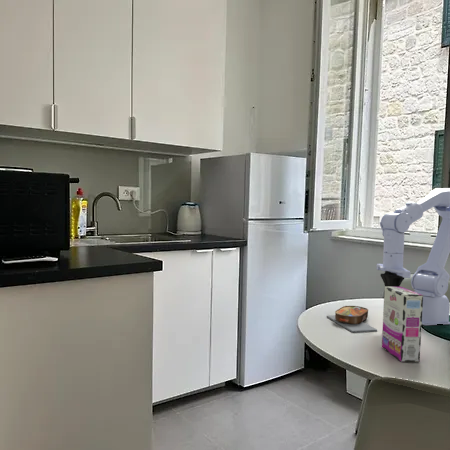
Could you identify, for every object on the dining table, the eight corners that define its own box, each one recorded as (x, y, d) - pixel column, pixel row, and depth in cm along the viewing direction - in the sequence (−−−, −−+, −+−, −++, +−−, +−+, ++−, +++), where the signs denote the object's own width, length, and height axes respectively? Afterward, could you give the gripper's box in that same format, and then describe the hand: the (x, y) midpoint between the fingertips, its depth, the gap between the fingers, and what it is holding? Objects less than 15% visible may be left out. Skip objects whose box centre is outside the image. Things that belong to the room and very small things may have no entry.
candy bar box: (421, 362, 105) (424, 295, 104) (401, 362, 104) (404, 295, 103) (399, 346, 116) (401, 285, 115) (380, 347, 115) (383, 285, 114)
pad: (348, 316, 146) (348, 314, 146) (377, 331, 129) (377, 329, 129) (326, 317, 144) (326, 315, 144) (352, 332, 127) (352, 330, 127)
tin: (358, 317, 132) (331, 311, 136) (356, 327, 132) (330, 321, 137) (371, 308, 144) (346, 302, 149) (370, 317, 145) (345, 311, 149)
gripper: (368, 250, 138) (366, 292, 138) (395, 256, 123) (394, 303, 124) (388, 249, 139) (386, 291, 140) (417, 255, 125) (415, 302, 126)
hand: (391, 297), depth 132 cm, fingers closed
